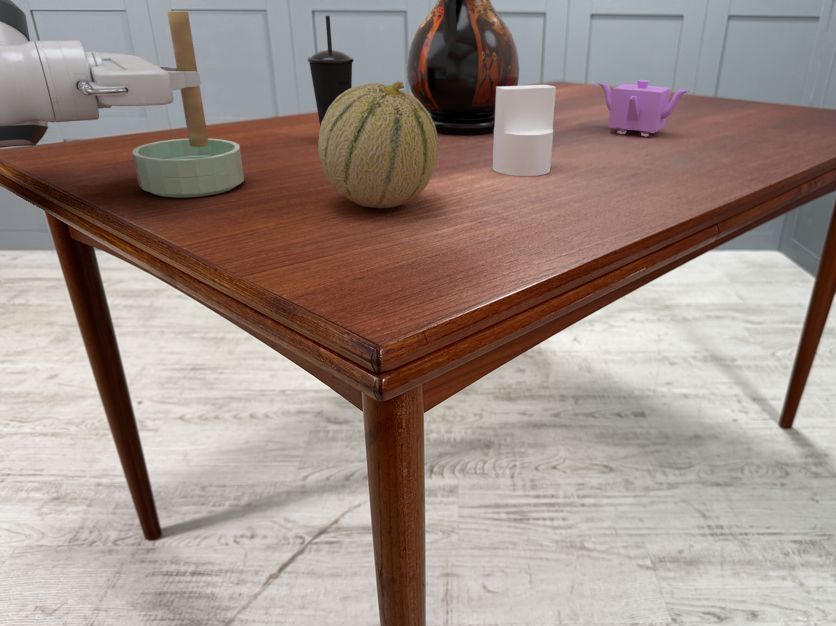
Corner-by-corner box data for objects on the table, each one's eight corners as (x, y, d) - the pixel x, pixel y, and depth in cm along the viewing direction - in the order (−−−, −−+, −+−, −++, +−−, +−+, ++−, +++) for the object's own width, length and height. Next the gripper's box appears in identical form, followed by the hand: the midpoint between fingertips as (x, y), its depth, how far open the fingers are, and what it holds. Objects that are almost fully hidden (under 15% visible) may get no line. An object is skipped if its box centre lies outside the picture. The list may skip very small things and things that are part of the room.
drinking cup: (336, 135, 123) (328, 14, 114) (366, 141, 119) (360, 16, 110) (305, 141, 118) (293, 15, 108) (336, 148, 114) (327, 17, 104)
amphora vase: (428, 115, 144) (427, -34, 130) (525, 122, 139) (535, -32, 126) (391, 133, 126) (386, -38, 112) (502, 142, 121) (511, -36, 107)
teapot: (580, 133, 130) (586, 80, 125) (600, 123, 140) (606, 73, 135) (674, 144, 123) (683, 88, 118) (687, 133, 133) (697, 80, 128)
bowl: (135, 202, 84) (126, 162, 82) (145, 176, 95) (138, 140, 93) (246, 195, 88) (240, 157, 85) (243, 171, 99) (238, 136, 96)
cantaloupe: (329, 189, 91) (319, 71, 84) (436, 189, 92) (436, 73, 85) (315, 223, 78) (303, 88, 71) (440, 223, 79) (440, 89, 72)
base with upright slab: (509, 178, 99) (514, 92, 93) (482, 164, 106) (485, 84, 100) (561, 173, 102) (568, 90, 96) (531, 160, 109) (537, 82, 103)
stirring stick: (189, 147, 88) (166, 11, 80) (190, 143, 90) (167, 10, 82) (208, 146, 88) (187, 11, 81) (209, 143, 90) (188, 11, 83)
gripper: (75, 60, 70) (211, 57, 76) (59, 45, 85) (174, 43, 91) (90, 123, 73) (219, 114, 79) (72, 97, 88) (182, 92, 94)
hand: (195, 76), depth 85 cm, fingers closed on stirring stick, 2 cm apart
